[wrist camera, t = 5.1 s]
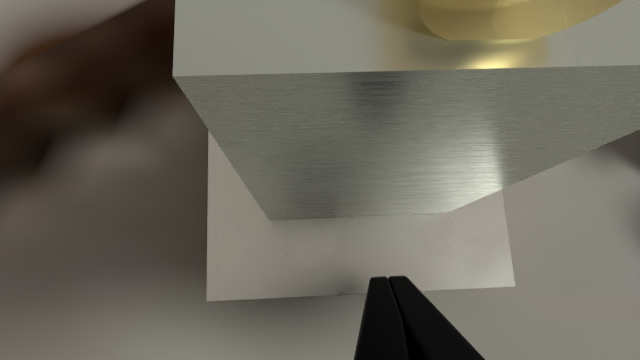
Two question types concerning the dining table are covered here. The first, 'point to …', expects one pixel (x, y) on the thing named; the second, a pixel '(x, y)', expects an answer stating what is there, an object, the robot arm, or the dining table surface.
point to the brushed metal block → (404, 95)
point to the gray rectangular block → (345, 246)
